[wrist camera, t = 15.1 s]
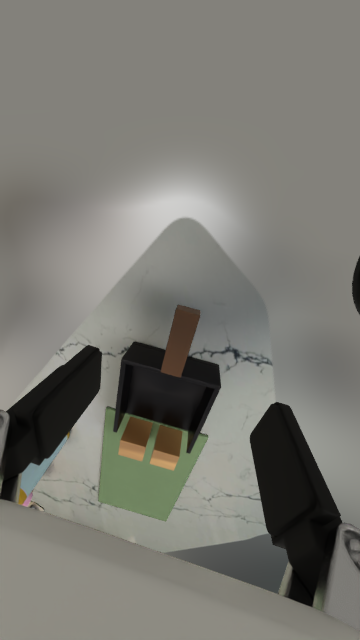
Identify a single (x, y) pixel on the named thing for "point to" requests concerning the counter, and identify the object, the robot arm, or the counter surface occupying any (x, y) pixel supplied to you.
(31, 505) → the blueberries
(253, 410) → the counter surface
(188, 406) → the pan
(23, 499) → the bottle
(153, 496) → the mat
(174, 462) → the block
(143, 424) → the block
